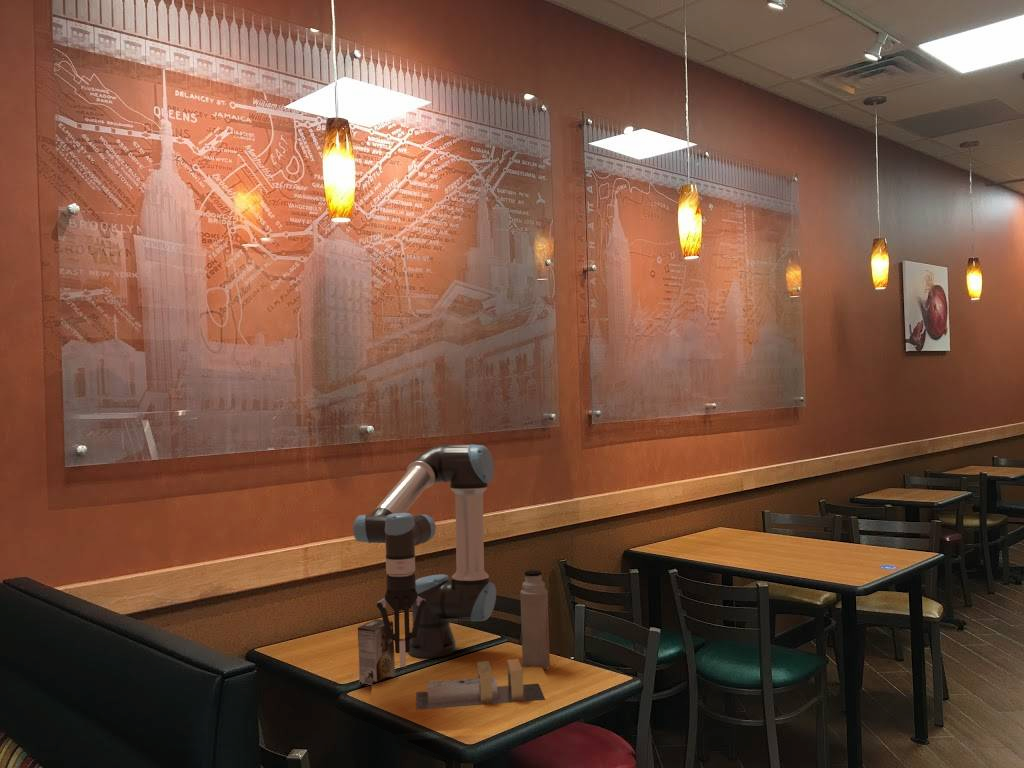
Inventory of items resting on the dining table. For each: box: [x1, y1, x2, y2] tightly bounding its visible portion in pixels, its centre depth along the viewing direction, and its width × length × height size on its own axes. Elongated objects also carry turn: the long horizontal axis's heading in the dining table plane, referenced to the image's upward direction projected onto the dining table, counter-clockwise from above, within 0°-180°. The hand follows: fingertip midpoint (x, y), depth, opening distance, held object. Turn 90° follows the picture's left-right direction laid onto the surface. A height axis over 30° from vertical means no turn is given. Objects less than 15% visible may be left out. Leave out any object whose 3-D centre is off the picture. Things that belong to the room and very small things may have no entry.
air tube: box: [426, 676, 498, 703], centre depth 218 cm, size 4×18×4 cm, turn 97°
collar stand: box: [415, 658, 546, 711], centre depth 219 cm, size 12×33×9 cm, turn 97°
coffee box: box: [357, 618, 396, 686], centre depth 237 cm, size 9×6×16 cm
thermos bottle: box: [519, 569, 551, 671], centre depth 245 cm, size 8×8×28 cm
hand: (402, 665), depth 216 cm, fingers closed
